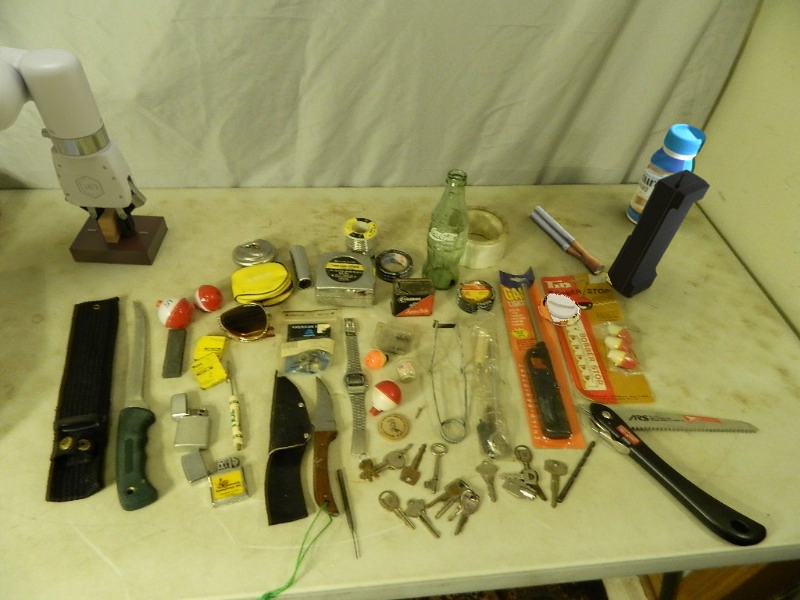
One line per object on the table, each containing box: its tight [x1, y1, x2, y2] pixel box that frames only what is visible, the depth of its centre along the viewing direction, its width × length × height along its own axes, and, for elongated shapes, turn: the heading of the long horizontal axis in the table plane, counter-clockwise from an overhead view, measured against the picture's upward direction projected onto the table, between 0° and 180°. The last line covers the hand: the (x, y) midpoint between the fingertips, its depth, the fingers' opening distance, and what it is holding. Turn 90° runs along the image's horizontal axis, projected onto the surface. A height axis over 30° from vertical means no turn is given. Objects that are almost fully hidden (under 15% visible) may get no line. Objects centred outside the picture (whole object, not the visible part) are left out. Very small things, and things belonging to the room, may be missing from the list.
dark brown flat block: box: [68, 214, 169, 266], centre depth 95 cm, size 13×10×3 cm
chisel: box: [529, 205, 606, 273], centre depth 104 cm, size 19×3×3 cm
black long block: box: [606, 169, 711, 298], centre depth 90 cm, size 8×6×25 cm
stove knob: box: [537, 293, 581, 327], centre depth 92 cm, size 7×7×2 cm
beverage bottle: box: [626, 123, 707, 225], centre depth 106 cm, size 8×8×20 cm
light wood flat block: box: [98, 207, 123, 243], centre depth 92 cm, size 6×2×5 cm, turn 1°
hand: (119, 231), depth 94 cm, fingers closed
